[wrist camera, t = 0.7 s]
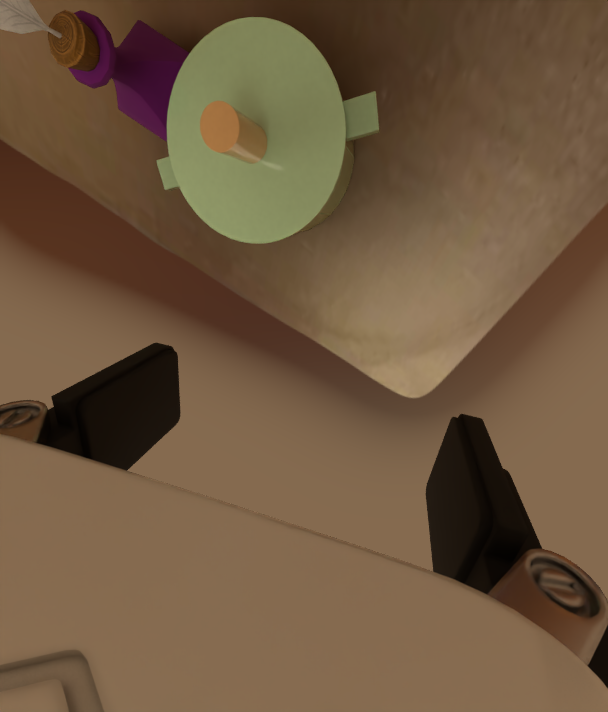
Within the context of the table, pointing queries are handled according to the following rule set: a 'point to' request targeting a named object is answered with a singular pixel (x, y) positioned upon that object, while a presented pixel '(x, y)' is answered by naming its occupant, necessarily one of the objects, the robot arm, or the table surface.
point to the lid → (256, 130)
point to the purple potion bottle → (108, 58)
